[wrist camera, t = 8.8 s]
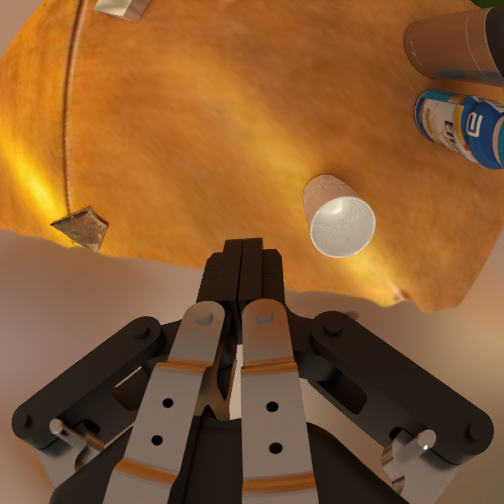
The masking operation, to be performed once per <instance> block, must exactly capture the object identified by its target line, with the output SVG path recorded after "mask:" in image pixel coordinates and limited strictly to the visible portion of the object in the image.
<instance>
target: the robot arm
mask: <svg viewBox="0 0 504 504" xmlns="http://www.w3.org/2000/svg"><path fill="white" fill-rule="evenodd" d="M404 45H405V50H406V53H407V55H408V57H409V59H410V61H411V62H412V64H413V65H414V66H415V68H416V69H417V70H418V71H420V72H421V73H422V74H424V75H426V76H428V77H431V78H437V79H448V80H456V81H465V82H472V83H479V84H485V85H491V86H496V87H502V88H504V6H500V7H491V8H483V9H476V10H470V11H463V12H458V13H452V14H447V15H443V16H438V17H434V18H429V19H425V20H421V21H418V22H415V23H412V24H411V25H410V26H409V27H408V28H407V30H406V32H405V35H404ZM284 296H285V295H284V281H283V267H282V256H281V255H280V253H279V252H278V251H277V250H276V249H265V250H264V247H263V238H246V239H232V240H226V241H225V245H224V249H223V252H218V253H213V254H212V255H211V257H210V258H209V259H208V260H207V262H206V266H205V271H204V273H203V278H202V281H201V285H200V289H199V293H198V297H197V300H196V304H194V305H192V306H191V307H190V308H188V309H187V311H186V312H185V314H184V316H183V319H181V320H179V321H176V322H172V323H168V324H164V325H160V323H159V321H158V320H157V319H155V318H153V317H149V316H144V317H139V318H137V319H135V320H133V321H132V322H130V323H129V324H127V325H126V326H125V327H123V328H122V329H121V330H119V331H118V332H117V333H115V334H114V335H112V336H111V337H110V338H108V339H107V340H106V341H104V342H103V343H102V344H100V345H99V346H98V347H96V348H95V349H94V350H93V351H91V352H90V353H88V354H87V355H86V356H84V357H83V358H82V359H80V360H79V361H78V362H76V363H75V364H74V365H72V366H71V367H70V368H69V369H67V370H66V371H64V372H63V373H62V374H61V375H59V376H58V377H57V378H55V379H54V380H53V381H51V382H50V383H49V384H48V385H46V386H45V387H44V388H42V389H41V390H40V391H38V392H37V393H36V394H34V395H33V396H32V397H31V398H29V399H28V400H27V401H25V402H24V403H23V404H22V405H20V406H19V407H18V408H17V409H16V411H15V412H14V414H13V417H12V429H13V432H14V433H15V435H16V436H17V437H19V438H20V439H22V440H23V441H25V442H26V443H28V444H30V445H31V446H32V447H33V448H34V449H35V450H36V451H37V454H38V456H39V458H40V460H41V462H42V464H43V466H44V468H45V470H46V472H47V474H48V476H49V478H50V480H51V482H52V484H53V485H54V487H55V490H54V492H53V493H52V495H51V498H50V502H49V504H434V503H435V501H436V500H437V499H438V498H439V497H440V495H441V494H442V493H443V491H444V490H445V489H446V487H447V486H448V485H449V483H450V482H451V481H452V479H453V478H454V476H455V475H456V473H457V472H458V470H459V469H460V467H461V466H462V465H463V464H464V463H465V462H467V461H469V460H470V459H472V458H474V457H475V456H477V455H479V454H480V453H482V452H484V451H485V450H486V449H487V448H488V446H489V445H490V443H491V441H492V439H493V434H494V427H493V423H492V421H491V419H490V417H489V416H488V415H487V414H486V413H485V412H484V411H482V410H481V409H479V408H478V407H477V406H475V405H474V404H472V403H471V402H469V401H468V400H467V399H465V398H464V397H462V396H461V395H460V394H458V393H457V392H455V391H454V390H452V389H451V388H450V387H448V386H447V385H445V384H444V383H443V382H441V381H440V380H438V379H437V378H436V377H434V376H433V375H431V374H430V373H429V372H427V371H426V370H424V369H423V368H421V367H420V366H419V365H417V364H416V363H414V362H413V361H411V360H410V359H409V358H407V357H406V356H404V355H403V354H402V353H400V352H399V351H397V350H396V349H394V348H393V347H392V346H390V345H389V344H387V343H386V342H385V341H383V340H382V339H380V338H379V337H377V336H376V335H375V334H373V333H372V332H370V331H369V330H367V329H366V328H365V327H363V326H362V325H360V324H359V323H358V322H356V321H355V320H353V319H352V318H350V317H349V316H347V315H346V314H344V313H341V312H337V311H327V312H323V313H321V314H319V315H318V316H316V317H315V318H314V319H309V318H304V317H300V316H298V315H295V314H294V313H292V312H291V311H290V310H289V309H288V308H287V306H286V304H285V297H284ZM238 344H239V345H240V344H243V367H241V412H242V413H241V417H242V418H238V419H234V420H230V413H229V404H230V398H231V392H232V387H233V381H234V375H235V370H236V364H237V360H236V353H237V345H238ZM140 366H141V367H142V368H141V369H140V370H138V371H137V372H136V373H134V374H133V375H132V376H131V377H130V378H128V379H127V380H126V381H124V382H123V383H122V384H121V385H119V386H118V387H115V386H116V385H117V384H118V383H120V382H121V381H122V380H123V379H125V378H126V377H127V376H129V375H130V374H131V373H132V372H134V371H135V370H136V369H137V368H138V367H140ZM299 378H304V379H307V380H308V382H309V383H310V384H311V386H313V387H314V388H315V389H316V390H317V391H318V392H319V393H320V394H321V395H323V396H324V397H325V398H326V399H327V400H328V401H329V402H331V403H332V404H333V405H334V406H335V407H336V408H337V409H338V410H340V411H341V412H342V413H343V414H344V415H346V416H347V417H348V418H349V419H350V420H351V421H352V422H354V423H355V424H356V425H357V426H359V427H360V428H361V429H362V430H363V431H364V432H366V433H367V434H368V435H369V436H370V437H372V438H373V439H374V440H376V441H377V442H378V443H379V444H380V445H382V446H383V447H384V450H383V452H382V456H381V464H382V467H383V469H384V470H385V472H386V473H387V474H388V475H389V477H390V478H391V481H392V488H391V487H390V486H389V485H387V484H386V483H385V482H384V481H383V480H382V479H380V478H379V477H378V476H377V475H376V474H375V473H374V472H372V471H371V470H370V469H369V468H368V467H367V466H366V465H364V464H363V463H362V462H361V461H360V460H359V459H358V458H357V457H356V456H355V455H354V454H353V453H352V452H350V451H349V450H348V449H347V448H346V447H345V446H344V445H343V444H342V443H341V442H340V441H339V440H338V439H337V438H335V436H333V435H332V434H330V433H329V432H328V431H327V430H325V429H323V428H321V427H319V426H317V425H314V424H312V423H308V422H306V419H305V413H304V406H303V400H302V393H301V387H300V380H299ZM114 387H115V388H114ZM133 422H135V423H134V425H133V426H132V427H130V428H129V429H128V430H127V431H126V432H125V433H123V434H122V435H121V436H120V437H118V438H117V439H116V440H115V441H114V442H113V443H111V444H110V445H109V446H108V447H107V448H105V449H104V445H105V444H106V443H108V442H109V441H110V440H112V439H113V438H114V437H116V436H117V435H118V434H119V433H121V432H122V431H123V430H125V429H126V428H127V427H128V426H130V425H131V424H132V423H133Z"/></svg>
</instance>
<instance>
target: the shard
mask: <svg viewBox="0 0 504 504" xmlns="http://www.w3.org/2000/svg"><path fill="white" fill-rule="evenodd" d="M50 225H51V226H53V227H55V228H56V229H57V230H59V231H61V232H63V233H64V234H65V235H67V236H68V237H69V238H71V239H73V240H74V241H75V242H77V243H79V244H81V245H82V246H84V247H86V248H88V249H90V250H92V251H94V252H98V250H99V248H100V245H101V241H102V238H103V236H104V234H105V231H106V229H107V227H108V226H107V225H106V224H104V223H102V222H101V221H100V220H99V218H98V217H97V216H96V214H95V213H94V211H93V209H92V208H91V207H88V208H86V209H84V210H82V211H79V212H77V213H75V214H72V215H69V216H66V217H64V218H61V219H59V220H58V221H56V222H54V223H51V224H50Z"/></svg>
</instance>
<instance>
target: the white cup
mask: <svg viewBox="0 0 504 504" xmlns="http://www.w3.org/2000/svg"><path fill="white" fill-rule="evenodd" d="M302 198H303V203H304V211H305V215H306V220H307V224H308V228H309V232H310V236H311V240H312V242H313V244H314V246H315V247H316V248H317V249H318V250H319V251H320V252H321V253H323V254H324V255H327V256H329V257H334V258H344V257H348V256H352V255H354V254H356V253H358V252H359V251H361V250H362V249H363V248H364V247H366V245H367V244H368V243H369V242H370V240H371V239H372V237H373V234H374V231H375V226H376V221H375V215H374V213H373V211H372V209H371V207H370V206H369V205H368V204H367V203H366V202H365V201H364V200H363V199H362V198H361V197H360V196H359V195H358V194H357V193H356V192H355V191H354V190H353V189H352V188H350V187H349V186H348V185H347V184H346V183H344V182H343V181H342V180H341V179H339V178H337V177H335V176H333V175H320V176H318V177H315V178H313V179H312V180H311V181H310V182H309V183H308V184H307V185H306V186H305V189H304V193H303V196H302Z"/></svg>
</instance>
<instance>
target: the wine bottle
mask: <svg viewBox="0 0 504 504" xmlns="http://www.w3.org/2000/svg"><path fill="white" fill-rule="evenodd" d="M471 1H472V2H474V3H475V4H476V5H478V6H479V7H481V8H491V7H500V6H504V0H471Z"/></svg>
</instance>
